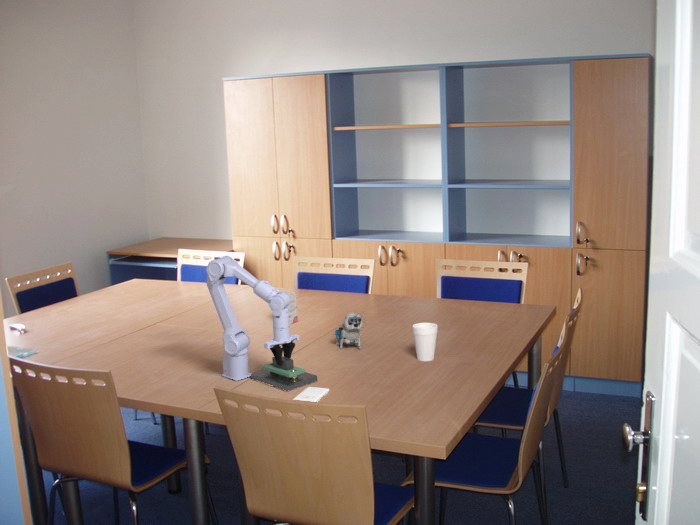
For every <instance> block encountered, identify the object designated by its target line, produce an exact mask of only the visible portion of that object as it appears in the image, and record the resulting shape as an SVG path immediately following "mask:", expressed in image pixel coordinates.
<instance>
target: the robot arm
mask: <svg viewBox="0 0 700 525" xmlns="http://www.w3.org/2000/svg"><path fill="white" fill-rule="evenodd" d="M205 272H206V287H207V289H208V292H209V295H210V297H211V300H212V302H213V305H214V307H215V310H216V312H217V315H218V318H219V320H220V321H219V322H220V323H221V325H222V328H223V333H222V341H223V350H224V354H223V356H222V368H223V371H222V372H223V373H222V374H221V376H222V377H224V378H227V379H229V378H230V380H232V379H233V381H236V382H239V381H242V380H244V379H248V378H251V377H250V376H251V374H252V373H251V372H250V371H249V370H250V369H249V354H248V352H249V351H248V347H249V346H250V344H251V338H250V336H249V335H248V334H247V332H246V331H245V329H244V327H242V326H241V325H240V324H239V323H238V320H237V317H236V315H235V312H234V310H233V307H232V304H231V302H230V298H229V297H228V294H227V292H226V289H225V287H224V283H225V281H226V279H227V277H228V278H230V277H232V278H233V277H234V278H236V279H238V280H240V281H241V282H242V283H244V284H246V285H247V286H248V287H250V288H252V290H253V294H255V295H256V296H258V297H259V298H260V299H262V301H265V302H266V303H267V304H268V307H269V308H270V310H271V311H272V331H273V339H270V340H268V341H266V342H264V343H263V348H264V349H265V350H270V351H271V353H272V355H273V357H275V360H276V363H277V365H279V366H282V356H283V357H286V358H289V359H292V354H293V351H294V349H295V347H296V343H295V341H297V342H298V341H300V335H299V334H297V333H295V334H291V333H290V332H291V331H290V325H289V310H288V306H289V304H290V302H291V299H290V297H291V295H288V293H287V292H286V291H283V290H282V291H281V290H280V289H279V288H275V287H274V286H273V285H271V284H270V282H269V281H268V280H264V279H260V280H259V279H258V278H256V276H254V275H252V274H251V273H250V272H249V271H248V270H246V269H245V267H242V266H241V265H240V264H239V262H238V261H237V260H235V259H233V258H232V257H231V256H230V255H224V256H221V257H219V258H216V259H212V260H210V261H209V262H208V264H207V265H206V268H205ZM286 307H287V308H286ZM247 377H248V378H247ZM241 379H242V380H241ZM238 380H239V381H238Z"/></svg>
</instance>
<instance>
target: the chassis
mask: <svg viewBox="0 0 700 525" xmlns="http://www.w3.org/2000/svg"><path fill="white" fill-rule="evenodd" d="M294 371H295V370H294V369H292V372H294ZM251 378H252V379H254V380H253V381H255V380H258V381H261V382H264V383H267V384H270V385H273V386H275V387H278V388H281V389H284V390H286V391H285V392H289V391H288V390H290V391H292V390H291V389H293V390H295V389H294V388H296V389H298V388H297V387H299V388H302V387H304V386H303V385H305V386H307V385H306V384H308V385H310V384H313V383H316V382H318V375H316V374H313V373H310V372H306V371H305V373H302V374H299V375H296V376H293V377H290V378H289V377H286V376H283V375H280V374H277V373H274V372H271V371H268V370H265V369H262V370H259V371H256V372H252V373H251V377H250V379H251ZM252 379H251V380H252ZM258 381H257V382H258ZM315 381H316V382H315ZM261 382H260V383H261ZM312 382H313V383H312ZM309 383H310V384H309ZM301 386H302V387H301ZM275 387H274V388H275ZM278 388H277V389H278ZM281 389H280V390H281ZM284 390H283V391H284Z"/></svg>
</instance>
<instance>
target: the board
mask: <svg viewBox="0 0 700 525" xmlns="http://www.w3.org/2000/svg"><path fill="white" fill-rule="evenodd" d="M271 359H272V362H269V363H266V364H263V365H262V366H261V368H262V370H268V371H271V372H274V373H277V374H280V375H283V376H286V377H289V378H290V377H293V376H296V375H299V374H302V373H305V372H306V371H305V368H301V367H298V366H295V365H294V359H292V358H290V359H289V358H286V357H284V355H282V366H279V365H277V363H276V360H275V357H274V356H272V357H271ZM292 369H294V370H295V371H294V372H292Z"/></svg>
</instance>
